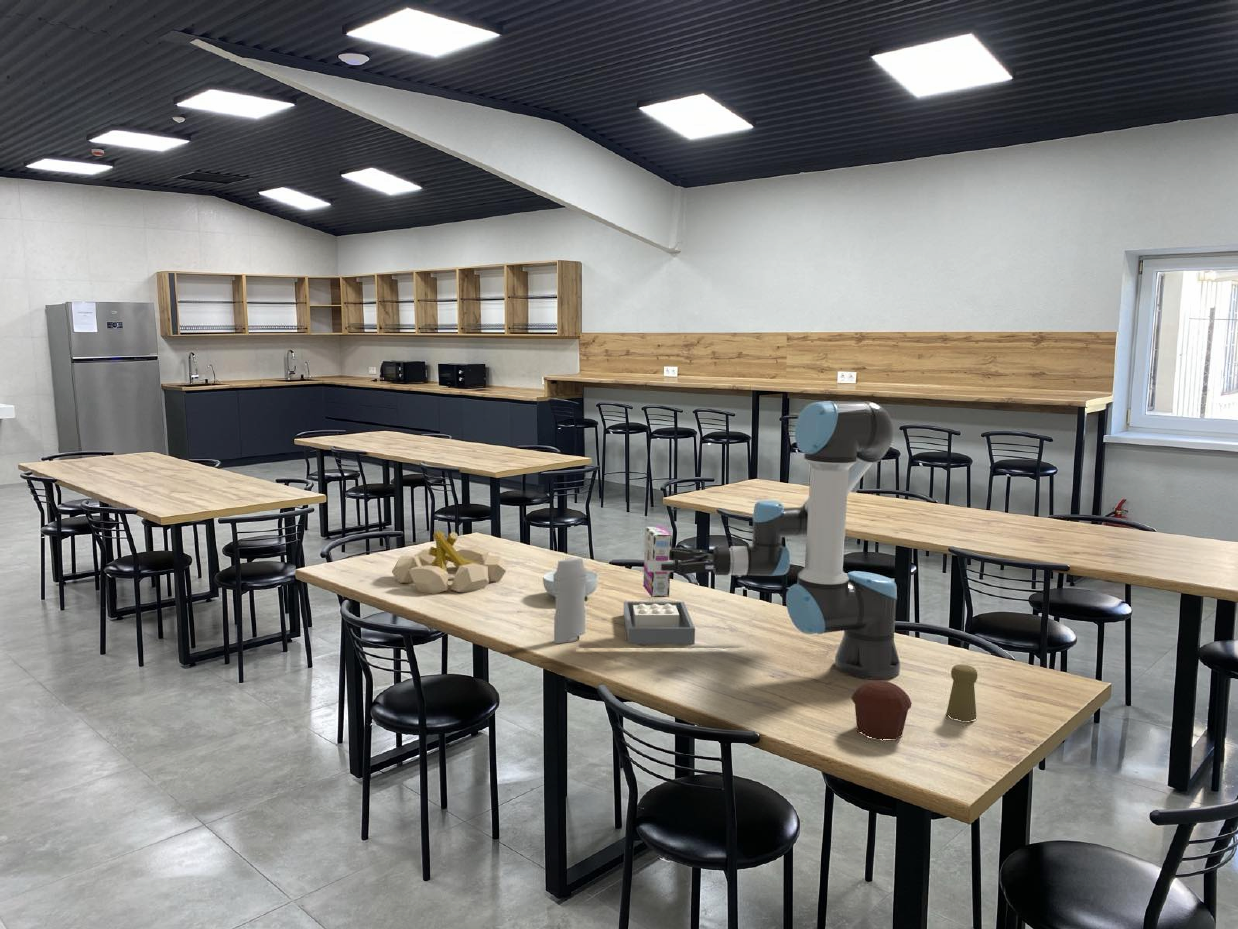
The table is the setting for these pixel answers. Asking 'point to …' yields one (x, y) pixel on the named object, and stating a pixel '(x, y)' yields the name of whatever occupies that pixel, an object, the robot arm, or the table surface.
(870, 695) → the muffin
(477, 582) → the campfire
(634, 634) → the tote
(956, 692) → the cork
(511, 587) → the table surface
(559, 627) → the tall pale column
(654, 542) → the candy bar box
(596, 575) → the cereal bowl
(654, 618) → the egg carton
